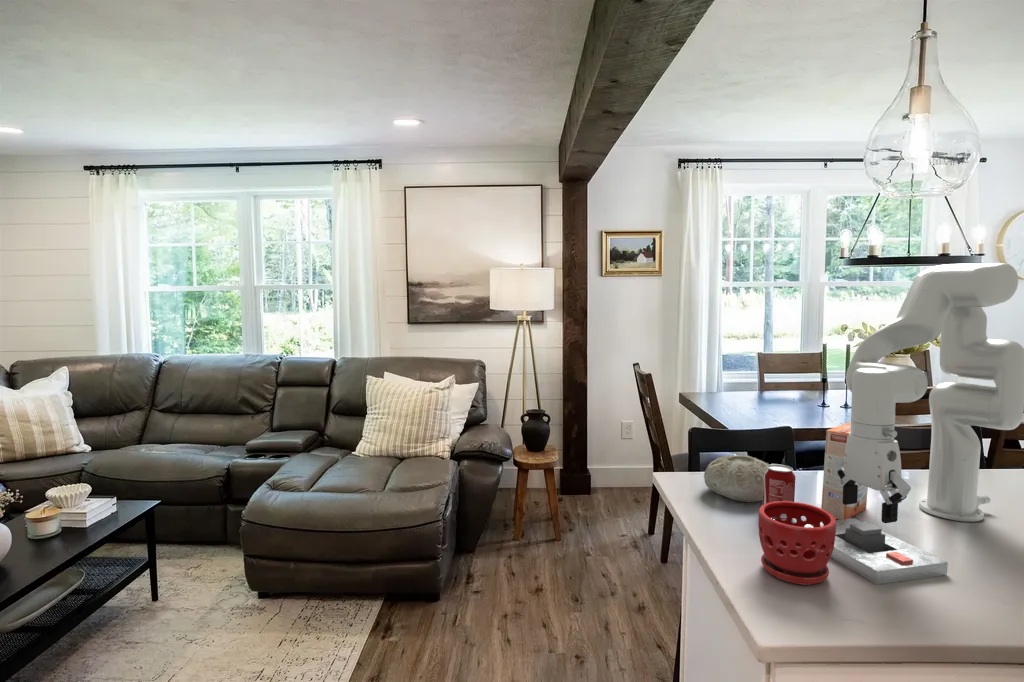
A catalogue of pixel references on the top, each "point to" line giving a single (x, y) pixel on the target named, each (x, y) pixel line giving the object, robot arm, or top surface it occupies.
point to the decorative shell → (736, 477)
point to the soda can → (778, 485)
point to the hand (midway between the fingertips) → (868, 512)
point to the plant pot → (796, 541)
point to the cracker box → (831, 479)
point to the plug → (866, 537)
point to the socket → (885, 558)
